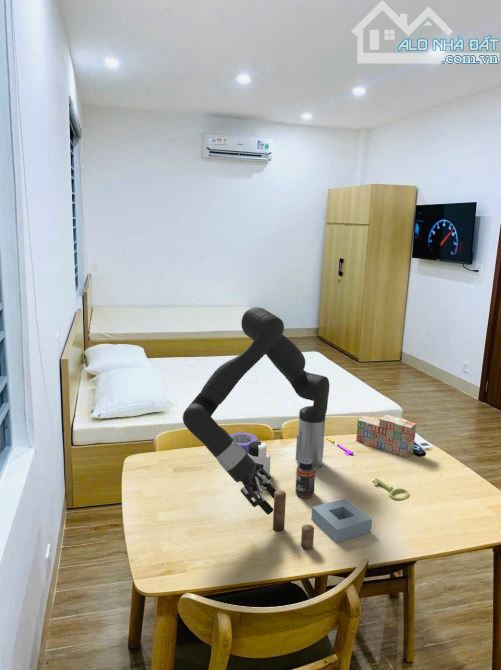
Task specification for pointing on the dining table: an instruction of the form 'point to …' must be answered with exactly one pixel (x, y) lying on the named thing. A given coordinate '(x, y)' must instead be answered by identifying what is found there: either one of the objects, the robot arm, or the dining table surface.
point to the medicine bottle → (260, 455)
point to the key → (392, 490)
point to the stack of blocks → (387, 434)
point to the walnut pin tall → (279, 510)
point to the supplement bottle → (305, 478)
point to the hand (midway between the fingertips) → (274, 504)
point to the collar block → (342, 529)
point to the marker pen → (342, 447)
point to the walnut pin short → (307, 537)
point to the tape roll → (244, 440)
